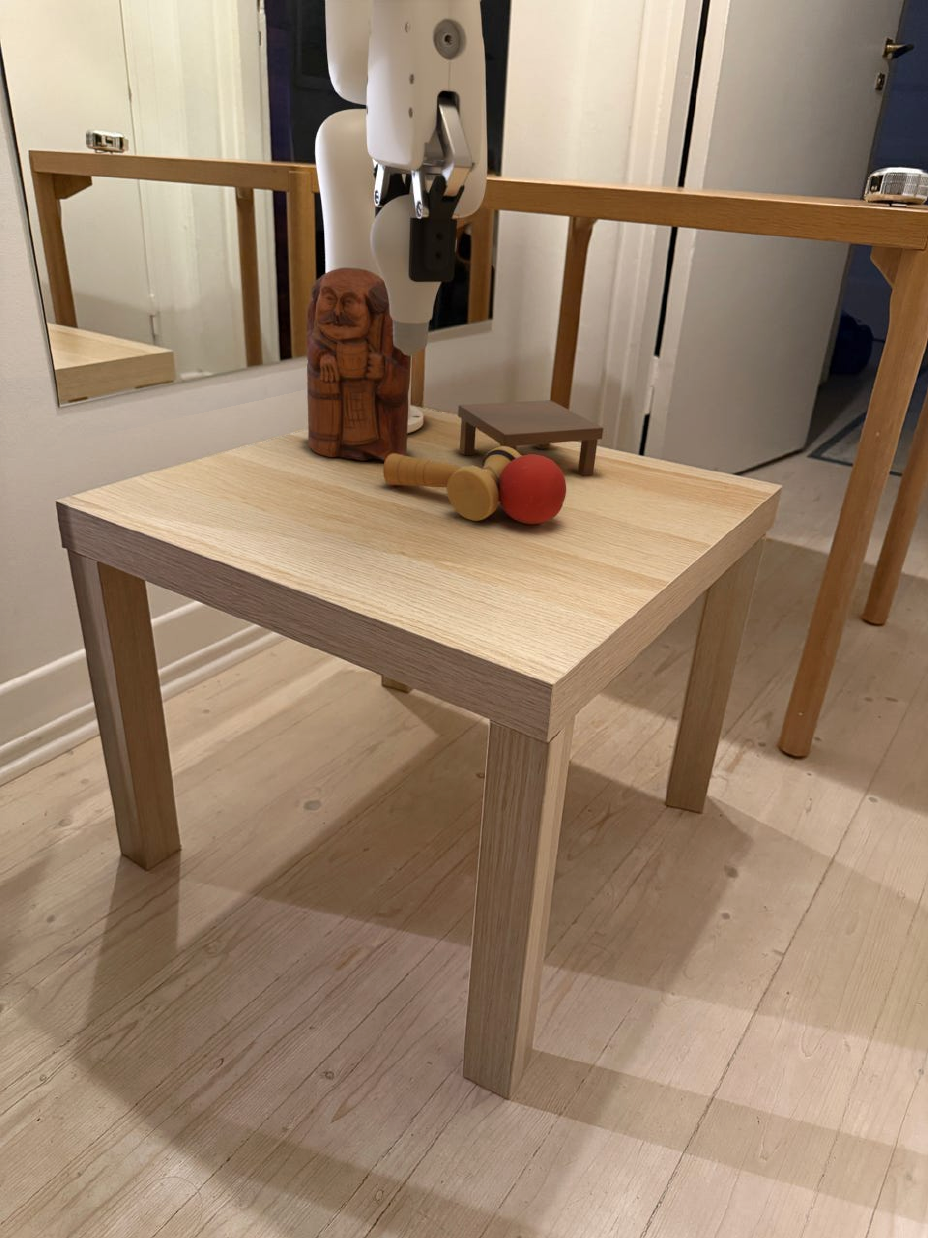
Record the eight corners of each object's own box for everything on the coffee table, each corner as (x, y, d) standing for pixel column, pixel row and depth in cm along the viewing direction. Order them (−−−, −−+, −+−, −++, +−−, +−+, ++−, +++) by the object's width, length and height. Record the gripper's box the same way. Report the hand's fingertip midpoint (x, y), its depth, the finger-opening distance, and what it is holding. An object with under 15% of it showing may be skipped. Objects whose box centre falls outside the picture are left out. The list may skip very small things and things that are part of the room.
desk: (455, 451, 97) (458, 404, 95) (545, 444, 102) (550, 399, 99) (501, 484, 88) (505, 434, 86) (597, 475, 93) (603, 427, 90)
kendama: (364, 510, 84) (539, 532, 75) (365, 440, 82) (543, 454, 73) (412, 503, 90) (578, 522, 81) (414, 438, 89) (583, 450, 80)
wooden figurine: (289, 452, 94) (283, 266, 85) (314, 436, 99) (311, 260, 91) (398, 468, 91) (403, 278, 83) (417, 450, 97) (424, 271, 88)
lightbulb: (424, 343, 72) (430, 190, 67) (465, 361, 68) (475, 199, 62) (354, 348, 69) (355, 189, 64) (393, 367, 64) (397, 198, 59)
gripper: (541, -39, 51) (513, 294, 60) (426, -13, 65) (416, 255, 74) (418, -57, 49) (407, 295, 57) (324, -26, 62) (327, 255, 71)
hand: (412, 270), depth 65 cm, fingers closed on lightbulb, 6 cm apart
